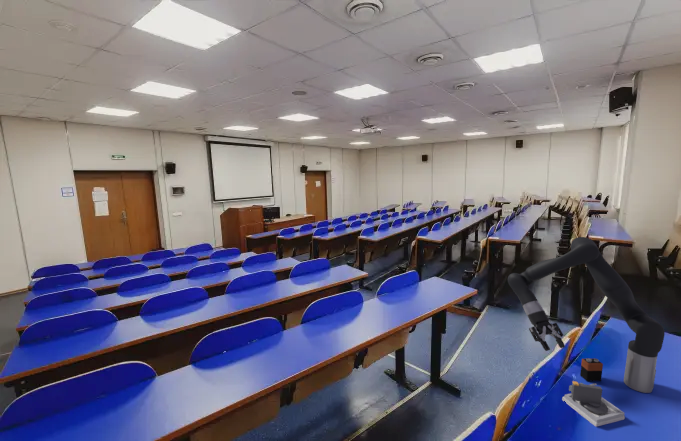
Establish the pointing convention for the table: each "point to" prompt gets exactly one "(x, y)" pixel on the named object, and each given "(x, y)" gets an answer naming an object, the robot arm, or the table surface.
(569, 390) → the screwdriver
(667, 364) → the table surface
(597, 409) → the dial
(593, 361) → the battery
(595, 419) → the panel
